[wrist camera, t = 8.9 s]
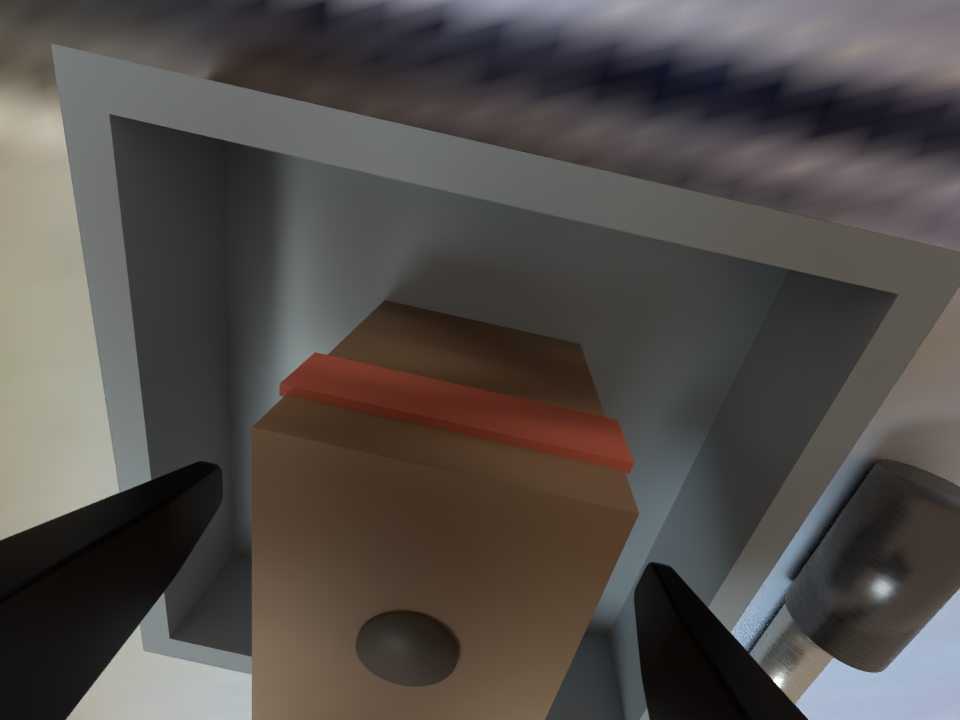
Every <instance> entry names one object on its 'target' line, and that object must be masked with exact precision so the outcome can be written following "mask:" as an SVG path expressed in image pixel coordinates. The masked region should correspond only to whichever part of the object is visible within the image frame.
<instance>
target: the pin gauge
mask: <svg viewBox="0 0 960 720" xmlns="http://www.w3.org/2000/svg"><path fill="white" fill-rule="evenodd" d="M959 589H960V487H959V486H957V485H955V484H954V483H952V482H950V481H947V480H945V479H943V478H941V477H939V476H937V475H934V474H932V473H930V472H927V471H925V470H922V469H919V468H916V467H914V466H910V465H907V464H904V463H900V462H895V461H889V460H882V461H878V462H877V463H876V464H875V465H874V467H873V468H872V469H871V471H870V472H869V474H868V475H867V477H866V478H865V479H864V481H863V482H862V484H861V485H860V487H859V488H858V490H857V491H856V492H855V494H854V495H853V497H852V498H851V500H850V501H849V502H848V504H847V505H846V507H845V508H844V510H843V511H842V512H841V514H840V515H839V517H838V518H837V520H836V521H835V522H834V524H833V525H832V527H831V528H830V530H829V531H828V532H827V534H826V535H825V537H824V538H823V540H822V541H821V542H820V544H819V545H818V547H817V548H816V550H815V551H814V552H813V554H812V555H811V557H810V558H809V560H808V561H807V562H806V564H805V565H804V567H803V568H802V570H801V571H800V573H799V574H798V575H797V577H796V578H795V580H794V581H793V583H792V584H791V585H790V587H789V588H788V590H787V591H786V593H785V597H784V599H785V604H784V606H783V607H782V608H781V610H780V611H779V613H778V614H777V615H776V617H775V618H774V620H773V621H772V622H771V624H770V625H769V627H768V628H767V630H766V631H765V632H764V634H763V635H762V637H761V638H760V639H759V641H758V642H757V644H756V645H755V646H754V648H753V649H752V651H751V652H750V655H751V656H752V657H753V658H754V660H755V661H756V662H757V663H758V664H759V665H760V666H761V667H762V669H763V670H764V671H765V672H766V673H767V674H768V675H769V676H770V677H771V679H772V680H773V681H774V682H775V683H776V684H777V685H778V686H779V688H780V689H781V690H782V691H783V692H784V693H785V694H786V695H787V696H788V698H789V699H790V700H791V701H792V702H793V703H794V704H795V703H796V702H797V700H798V699H799V698H800V697H801V696H802V694H803V693H804V692H805V691H806V690H807V688H808V687H809V686H810V685H811V684H812V682H813V681H814V680H815V679H816V678H817V676H818V675H819V674H820V673H821V672H822V670H823V669H824V668H825V667H826V666H827V664H828V663H829V662H830V661H831V660H832V658H833V657H834V658H836V659H837V660H839V661H841V662H843V663H844V664H847V665H849V666H851V667H853V668H856V669H858V670H862V671H865V672H875V673H877V672H881V671H883V670H885V669H886V668H887V667H888V666H889V664H890V663H891V662H892V661H893V660H894V659H895V658H896V657H897V656H898V655H899V654H900V653H901V651H902V650H903V649H904V648H905V647H906V646H907V645H908V644H909V643H910V642H911V641H912V640H913V638H914V637H915V636H916V635H917V634H918V633H919V632H920V631H921V630H922V629H923V628H924V627H925V625H926V624H927V623H928V622H929V621H930V620H931V619H932V618H933V617H934V616H935V615H936V613H937V612H938V611H939V610H940V609H941V608H942V607H943V606H944V605H945V604H946V603H947V602H948V600H949V599H950V598H951V597H952V596H953V595H954V594H955V593H956V592H957V591H958V590H959Z"/></svg>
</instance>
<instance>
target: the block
mask: <svg viewBox="0 0 960 720" xmlns="http://www.w3.org/2000/svg"><path fill="white" fill-rule="evenodd" d="M279 396H283V398H282V399H281V400H280V401H279V402H278V403H276V404H275V405H274V406H273V407H272V408H271V409H270V410H269V411H268V412H267V413H266V414H265V415H264V416H263V417H262V418H261V419H260V420H259V421H258V422H257V423H256V424H255V425H254V426H252V720H545V718H546V716H547V714H548V712H549V710H550V708H551V705H552V703H553V701H554V699H555V697H556V694H557V692H558V690H559V688H560V686H561V684H562V681H563V679H564V677H565V675H566V673H567V670H568V668H569V666H570V664H571V662H572V660H573V657H574V655H575V653H576V651H577V649H578V646H579V644H580V642H581V640H582V638H583V636H584V633H585V631H586V629H587V627H588V625H589V622H590V620H591V618H592V616H593V614H594V612H595V609H596V607H597V605H598V603H599V601H600V599H601V596H602V594H603V592H604V590H605V588H606V585H607V583H608V581H609V579H610V577H611V575H612V572H613V570H614V568H615V566H616V564H617V561H618V559H619V557H620V555H621V553H622V551H623V548H624V546H625V544H626V542H627V540H628V537H629V535H630V533H631V531H632V529H633V527H634V524H635V522H636V520H637V518H638V516H639V511H638V509H637V506H636V503H635V500H634V497H633V494H632V491H631V488H630V486H629V483H628V480H627V477H626V474H625V473H627V474H630V472H631V470H632V467H633V465H634V461H633V458H632V456H631V453H630V451H629V448H628V446H627V443H626V441H625V438H624V436H623V433H622V430H621V428H620V425H619V423H618V420H615V419H611V418H606V417H605V414H604V411H603V408H602V405H601V402H600V400H599V397H598V394H597V391H596V388H595V385H594V382H593V379H592V377H591V374H590V371H589V368H588V365H587V362H586V359H585V357H584V354H583V351H582V348H581V345H580V344H578V343H574V342H569V341H565V340H560V339H556V338H552V337H547V336H543V335H538V334H534V333H529V332H525V331H521V330H516V329H512V328H507V327H503V326H498V325H494V324H489V323H485V322H481V321H476V320H472V319H467V318H463V317H458V316H454V315H450V314H445V313H441V312H436V311H432V310H427V309H423V308H419V307H414V306H410V305H405V304H401V303H396V302H392V301H388V300H384V301H383V302H382V303H381V304H380V305H379V306H378V307H377V308H376V309H375V310H374V311H373V312H371V313H370V314H369V315H368V316H367V317H366V318H365V319H364V320H363V321H362V322H361V323H360V324H359V325H358V326H357V327H356V328H355V329H354V330H353V331H352V332H351V333H350V334H349V335H347V336H346V337H345V338H344V339H343V340H342V341H341V342H340V343H339V344H338V345H337V346H336V347H335V348H334V349H333V350H332V351H331V352H330V353H329V354H328V355H326V354H321V353H317V352H315V353H314V354H312V355H311V356H310V357H309V358H308V359H307V360H306V361H305V362H303V363H302V364H301V365H300V366H299V367H298V368H297V369H296V370H294V371H293V372H292V373H291V374H290V375H289V376H288V377H287V378H285V379H284V380H283V381H282V382H281V383H280V389H279Z"/></svg>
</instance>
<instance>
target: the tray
mask: <svg viewBox="0 0 960 720" xmlns="http://www.w3.org/2000/svg"><path fill="white" fill-rule="evenodd" d="M51 47H52V54H53V60H54V67H55V73H56V80H57V86H58V93H59V99H60V106H61V112H62V119H63V125H64V132H65V139H66V145H67V152H68V158H69V165H70V171H71V178H72V184H73V191H74V197H75V204H76V210H77V217H78V224H79V230H80V237H81V243H82V250H83V256H84V263H85V269H86V276H87V282H88V289H89V295H90V302H91V309H92V315H93V322H94V328H95V335H96V341H97V348H98V354H99V361H100V367H101V374H102V380H103V387H104V394H105V400H106V407H107V413H108V420H109V426H110V433H111V439H112V446H113V452H114V459H115V465H116V472H117V479H118V485H119V492H123V491H125V490H128V489H130V488H133V487H135V486H138V485H140V484H143V483H145V482H148V481H150V480H153V479H155V478H158V477H160V476H163V475H165V474H167V473H170V472H172V471H175V470H177V469H180V468H182V467H185V466H187V465H190V464H192V463H195V462H198V461H206V462H210V463H215V464H218V465H220V466H221V468H222V471H223V500H222V503H221V505H220V507H219V509H218V511H217V512H216V514H215V515H214V517H213V519H212V520H211V522H210V523H209V525H208V527H207V528H206V530H205V531H204V533H203V534H202V536H201V538H200V539H199V541H198V542H197V544H196V546H195V547H194V549H193V550H192V552H191V554H190V555H189V557H188V558H187V560H186V562H185V563H184V565H183V566H182V568H181V569H180V571H179V572H178V574H177V575H176V577H175V578H174V579H173V581H172V582H171V584H170V585H169V586H168V588H167V589H166V590H165V591H164V593H163V594H162V595H161V597H160V598H159V599H158V601H157V602H156V603H155V604H154V606H153V607H152V608H151V610H150V611H149V612H148V614H147V615H146V616H145V617H144V619H143V620H142V621H141V623H140V629H141V635H142V642H143V649H144V651H147V652H152V653H156V654H161V655H165V656H170V657H175V658H179V659H184V660H188V661H193V662H197V663H202V664H206V665H211V666H215V667H220V668H225V669H229V670H234V671H238V672H243V673H247V674H252V426H254V425H255V424H256V423H257V422H258V421H259V420H260V419H261V418H262V417H263V416H264V415H265V414H266V413H267V412H268V411H269V410H270V409H271V408H272V407H273V406H274V405H275V404H276V403H278V402H279V401H280V400H281V399H282V398H283V396H279V389H280V383H281V382H282V381H283V380H284V379H285V378H287V377H288V376H289V375H290V374H291V373H292V372H293V371H294V370H296V369H297V368H298V367H299V366H300V365H301V364H302V363H303V362H305V361H306V360H307V359H308V358H309V357H310V356H311V355H312V354H314V353H315V352H317V353H321V354H326V355H328V354H329V353H330V352H331V351H332V350H333V349H334V348H335V347H336V346H337V345H338V344H339V343H340V342H341V341H342V340H343V339H344V338H345V337H346V336H347V335H349V334H350V333H351V332H352V331H353V330H354V329H355V328H356V327H357V326H358V325H359V324H360V323H361V322H362V321H363V320H364V319H365V318H366V317H367V316H368V315H369V314H370V313H371V312H373V311H374V310H375V309H376V308H377V307H378V306H379V305H380V304H381V303H382V302H383V301H384V300H388V301H392V302H396V303H401V304H405V305H410V306H414V307H419V308H423V309H427V310H432V311H436V312H441V313H445V314H450V315H454V316H458V317H463V318H467V319H472V320H476V321H481V322H485V323H489V324H494V325H498V326H503V327H507V328H512V329H516V330H521V331H525V332H529V333H534V334H538V335H543V336H547V337H552V338H556V339H560V340H565V341H569V342H574V343H578V344H580V345H581V348H582V351H583V354H584V357H585V359H586V362H587V365H588V368H589V371H590V374H591V377H592V379H593V382H594V385H595V388H596V391H597V394H598V397H599V400H600V402H601V405H602V408H603V411H604V414H605V417H606V418H611V419H615V420H618V423H619V425H620V428H621V430H622V433H623V436H624V438H625V441H626V443H627V446H628V448H629V451H630V453H631V456H632V458H633V461H634V465H633V467H632V470H631V472H630V474H627V473H625V474H626V477H627V480H628V483H629V486H630V488H631V491H632V494H633V497H634V500H635V503H636V506H637V509H638V511H639V516H638V518H637V520H636V522H635V524H634V527H633V529H632V531H631V533H630V535H629V537H628V540H627V542H626V544H625V546H624V548H623V551H622V553H621V555H620V557H619V559H618V561H617V564H616V566H615V568H614V570H613V572H612V575H611V577H610V579H609V581H608V583H607V585H606V588H605V590H604V592H603V594H602V596H601V599H600V601H599V603H598V605H597V607H596V609H595V612H594V614H593V616H592V618H591V620H590V622H589V625H588V627H587V629H586V631H585V633H584V636H583V638H582V640H581V642H580V644H579V646H578V649H577V651H576V653H575V655H574V657H573V660H572V662H571V664H570V666H569V668H568V670H567V673H566V675H565V677H564V679H563V681H562V684H561V686H560V688H559V690H558V692H557V694H556V697H555V699H554V701H553V703H552V705H551V708H550V710H549V712H548V714H547V716H546V718H545V720H649V715H648V710H647V705H646V700H645V695H644V689H643V683H642V677H641V669H640V659H639V649H638V639H637V629H636V619H635V609H634V591H635V587H636V585H637V583H638V581H639V579H640V577H641V575H642V573H643V571H644V569H645V567H646V565H647V564H648V563H649V562H657V563H662V564H666V565H669V566H671V567H672V568H673V569H674V570H675V571H676V572H677V574H678V575H679V576H680V577H681V578H682V579H683V580H684V581H685V582H686V584H687V585H688V586H689V587H690V588H691V589H692V590H693V591H694V593H695V594H696V595H697V596H698V597H699V598H700V599H701V600H702V601H703V603H704V604H705V605H706V606H707V607H708V608H709V609H710V610H711V612H712V613H713V614H714V615H715V616H716V617H717V618H718V619H719V620H720V622H721V623H722V624H723V625H724V626H725V627H726V628H727V629H728V631H729V632H731V631H732V629H733V628H734V626H735V625H736V623H737V622H738V620H739V619H740V617H741V616H742V614H743V613H744V611H745V610H746V608H747V607H748V605H749V604H750V602H751V601H752V599H753V598H754V596H755V595H756V593H757V592H758V590H759V589H760V587H761V586H762V584H763V583H764V581H765V580H766V578H767V576H768V575H769V573H770V572H771V570H772V569H773V567H774V566H775V564H776V563H777V561H778V560H779V558H780V557H781V555H782V554H783V552H784V551H785V549H786V548H787V546H788V545H789V543H790V542H791V540H792V539H793V537H794V536H795V534H796V533H797V531H798V530H799V528H800V527H801V525H802V524H803V522H804V521H805V519H806V518H807V516H808V514H809V513H810V511H811V510H812V508H813V507H814V505H815V504H816V502H817V501H818V499H819V498H820V496H821V495H822V493H823V492H824V490H825V489H826V487H827V486H828V484H829V483H830V481H831V480H832V478H833V477H834V475H835V474H836V472H837V471H838V469H839V468H840V466H841V465H842V463H843V462H844V460H845V459H846V457H847V456H848V454H849V452H850V451H851V449H852V448H853V446H854V445H855V443H856V442H857V440H858V439H859V437H860V436H861V434H862V433H863V431H864V430H865V428H866V427H867V425H868V424H869V422H870V421H871V419H872V418H873V416H874V415H875V413H876V412H877V410H878V409H879V407H880V406H881V404H882V403H883V401H884V400H885V398H886V397H887V395H888V394H889V392H890V390H891V389H892V387H893V386H894V384H895V383H896V381H897V380H898V378H899V377H900V375H901V374H902V372H903V371H904V369H905V368H906V366H907V365H908V363H909V362H910V360H911V359H912V357H913V356H914V354H915V353H916V351H917V350H918V348H919V347H920V345H921V344H922V342H923V341H924V339H925V338H926V336H927V335H928V333H929V332H930V330H931V328H932V327H933V325H934V324H935V322H936V321H937V319H938V318H939V316H940V315H941V313H942V312H943V310H944V309H945V307H946V306H947V304H948V303H949V301H950V300H951V298H952V297H953V295H954V294H955V292H956V291H957V289H958V288H959V286H960V252H958V251H953V250H949V249H944V248H940V247H936V246H931V245H927V244H923V243H918V242H914V241H910V240H905V239H901V238H897V237H892V236H888V235H883V234H879V233H875V232H870V231H866V230H862V229H857V228H853V227H849V226H844V225H840V224H835V223H831V222H827V221H822V220H818V219H814V218H809V217H805V216H801V215H796V214H792V213H788V212H783V211H779V210H774V209H770V208H766V207H761V206H757V205H753V204H748V203H744V202H740V201H735V200H731V199H726V198H722V197H718V196H713V195H709V194H705V193H700V192H696V191H692V190H687V189H683V188H679V187H674V186H670V185H665V184H661V183H657V182H652V181H648V180H644V179H639V178H635V177H631V176H626V175H622V174H617V173H613V172H609V171H604V170H600V169H596V168H591V167H587V166H583V165H578V164H574V163H570V162H565V161H561V160H556V159H552V158H548V157H543V156H539V155H535V154H530V153H526V152H522V151H517V150H513V149H508V148H504V147H500V146H495V145H491V144H487V143H482V142H478V141H474V140H469V139H465V138H461V137H456V136H452V135H447V134H443V133H439V132H434V131H430V130H426V129H421V128H417V127H413V126H408V125H404V124H400V123H395V122H391V121H386V120H382V119H378V118H373V117H369V116H365V115H360V114H356V113H352V112H347V111H343V110H338V109H334V108H330V107H325V106H321V105H317V104H312V103H308V102H304V101H299V100H295V99H291V98H286V97H282V96H277V95H273V94H269V93H264V92H260V91H256V90H251V89H247V88H243V87H238V86H234V85H229V84H225V83H221V82H216V81H212V80H208V79H203V78H199V77H195V76H190V75H186V74H182V73H177V72H173V71H168V70H164V69H160V68H155V67H151V66H147V65H142V64H138V63H134V62H129V61H125V60H120V59H116V58H112V57H107V56H103V55H99V54H94V53H90V52H86V51H81V50H77V49H73V48H68V47H64V46H59V45H55V44H51Z"/></svg>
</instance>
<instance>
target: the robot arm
mask: <svg viewBox="0 0 960 720" xmlns="http://www.w3.org/2000/svg"><path fill="white" fill-rule="evenodd" d="M222 500H223V471H222V468H221V466H220V465H218V464H215V463H210V462H206V461H198V462H195V463H192V464H190V465H187V466H185V467H182V468H180V469H177V470H175V471H172V472H170V473H167V474H165V475H163V476H160V477H158V478H155V479H153V480H150V481H148V482H145V483H143V484H140V485H138V486H135V487H133V488H130V489H128V490H125V491H123V492H120V493H118V494H115V495H113V496H110V497H108V498H105V499H103V500H100V501H98V502H95V503H93V504H90V505H88V506H85V507H83V508H80V509H78V510H75V511H73V512H70V513H68V514H65V515H63V516H60V517H58V518H55V519H53V520H50V521H48V522H45V523H43V524H40V525H38V526H35V527H33V528H30V529H28V530H25V531H23V532H20V533H18V534H15V535H13V536H10V537H8V538H5V539H3V540H0V720H66V719H67V717H68V716H69V715H70V713H71V712H72V711H73V710H74V708H75V707H76V706H77V704H78V703H79V702H80V700H81V699H82V698H83V697H84V695H85V694H86V693H87V691H88V690H89V689H90V687H91V686H92V685H93V684H94V682H95V681H96V680H97V678H98V677H99V676H100V675H101V673H102V672H103V671H104V669H105V668H106V667H107V665H108V664H109V663H110V662H111V660H112V659H113V658H114V656H115V655H116V654H117V652H118V651H119V650H120V649H121V647H122V646H123V645H124V643H125V642H126V641H127V639H128V638H129V637H130V636H131V634H132V633H133V632H134V630H135V629H136V628H137V627H138V625H139V624H140V623H141V621H142V620H143V619H144V617H145V616H146V615H147V614H148V612H149V611H150V610H151V608H152V607H153V606H154V604H155V603H156V602H157V601H158V599H159V598H160V597H161V595H162V594H163V593H164V591H165V590H166V589H167V588H168V586H169V585H170V584H171V582H172V581H173V579H174V578H175V577H176V575H177V574H178V572H179V571H180V569H181V568H182V566H183V565H184V563H185V562H186V560H187V558H188V557H189V555H190V554H191V552H192V550H193V549H194V547H195V546H196V544H197V542H198V541H199V539H200V538H201V536H202V534H203V533H204V531H205V530H206V528H207V527H208V525H209V523H210V522H211V520H212V519H213V517H214V515H215V514H216V512H217V511H218V509H219V507H220V505H221V503H222ZM634 609H635V619H636V629H637V639H638V649H639V659H640V669H641V677H642V683H643V689H644V695H645V700H646V705H647V710H648V715H649V720H808V719H807V718H806V717H805V715H804V714H803V713H802V712H801V711H800V710H799V709H798V708H797V707H796V705H795V704H794V703H793V702H792V701H791V700H790V699H789V698H788V696H787V695H786V694H785V693H784V692H783V691H782V690H781V689H780V688H779V686H778V685H777V684H776V683H775V682H774V681H773V680H772V679H771V677H770V676H769V675H768V674H767V673H766V672H765V671H764V670H763V669H762V667H761V666H760V665H759V664H758V663H757V662H756V661H755V660H754V658H753V657H752V656H751V655H750V654H749V653H748V652H747V651H746V650H745V648H744V647H743V646H742V645H741V644H740V643H739V642H738V641H737V639H736V638H735V637H734V636H733V635H732V634H731V633H730V632H729V631H728V629H727V628H726V627H725V626H724V625H723V624H722V623H721V622H720V620H719V619H718V618H717V617H716V616H715V615H714V614H713V613H712V612H711V610H710V609H709V608H708V607H707V606H706V605H705V604H704V603H703V601H702V600H701V599H700V598H699V597H698V596H697V595H696V594H695V593H694V591H693V590H692V589H691V588H690V587H689V586H688V585H687V584H686V582H685V581H684V580H683V579H682V578H681V577H680V576H679V575H678V574H677V572H676V571H675V570H674V569H673V568H672V567H671V566H669V565H666V564H662V563H657V562H649V563H648V564H647V565H646V567H645V569H644V571H643V573H642V575H641V577H640V579H639V581H638V583H637V585H636V587H635V591H634Z"/></svg>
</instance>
